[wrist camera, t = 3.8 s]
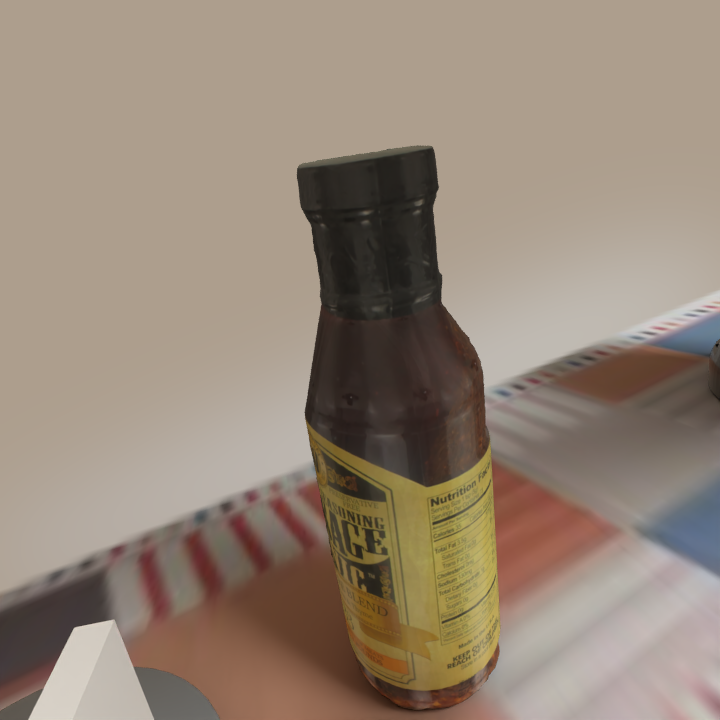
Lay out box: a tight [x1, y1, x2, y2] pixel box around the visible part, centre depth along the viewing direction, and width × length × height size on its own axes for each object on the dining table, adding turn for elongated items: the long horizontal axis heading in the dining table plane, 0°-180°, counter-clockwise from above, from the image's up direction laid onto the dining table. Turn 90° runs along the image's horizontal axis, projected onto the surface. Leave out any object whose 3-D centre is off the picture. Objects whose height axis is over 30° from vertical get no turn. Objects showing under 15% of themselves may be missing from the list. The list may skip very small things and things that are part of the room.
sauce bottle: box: [297, 146, 500, 710], centre depth 19 cm, size 6×6×20 cm
